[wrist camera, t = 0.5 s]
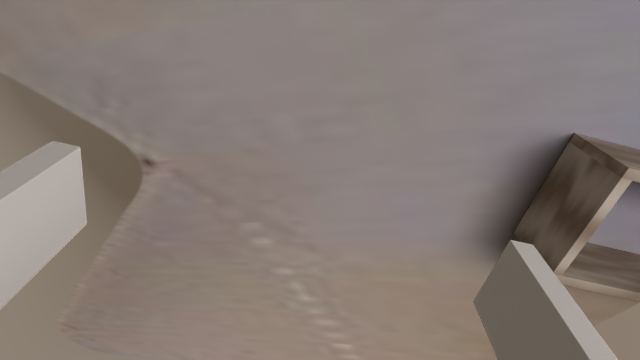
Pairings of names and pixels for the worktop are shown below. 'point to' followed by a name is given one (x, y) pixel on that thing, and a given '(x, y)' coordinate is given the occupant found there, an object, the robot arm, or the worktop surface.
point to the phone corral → (584, 217)
